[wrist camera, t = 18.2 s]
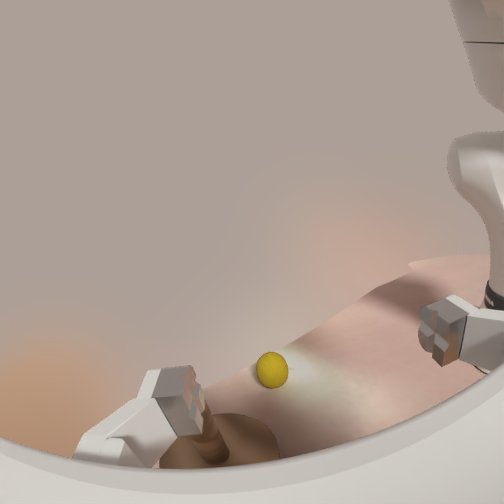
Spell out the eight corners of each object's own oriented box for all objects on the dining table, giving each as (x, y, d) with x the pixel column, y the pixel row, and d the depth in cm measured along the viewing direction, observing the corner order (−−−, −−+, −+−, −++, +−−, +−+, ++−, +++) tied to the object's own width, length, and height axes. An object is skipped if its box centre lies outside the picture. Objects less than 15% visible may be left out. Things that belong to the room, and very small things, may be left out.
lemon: (256, 384, 49) (247, 351, 47) (282, 373, 51) (276, 340, 49) (268, 401, 44) (259, 367, 42) (296, 388, 46) (290, 354, 44)
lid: (220, 404, 40) (198, 344, 37) (304, 444, 29) (293, 382, 26) (142, 459, 29) (101, 403, 26) (216, 528, 18) (171, 486, 15)
